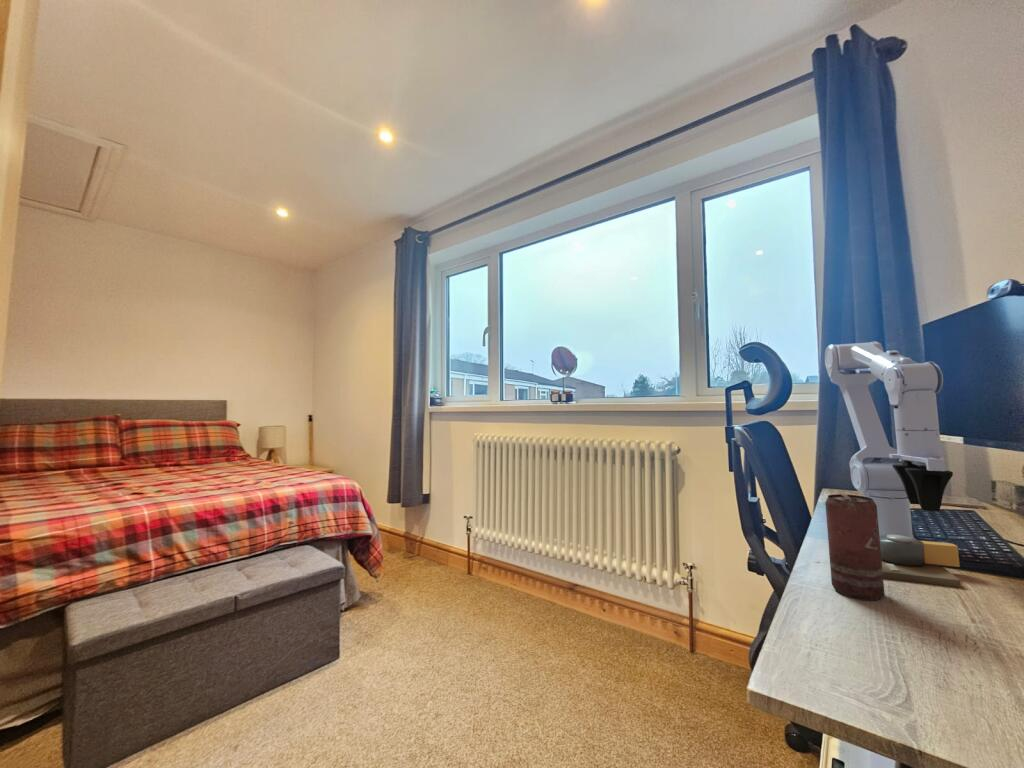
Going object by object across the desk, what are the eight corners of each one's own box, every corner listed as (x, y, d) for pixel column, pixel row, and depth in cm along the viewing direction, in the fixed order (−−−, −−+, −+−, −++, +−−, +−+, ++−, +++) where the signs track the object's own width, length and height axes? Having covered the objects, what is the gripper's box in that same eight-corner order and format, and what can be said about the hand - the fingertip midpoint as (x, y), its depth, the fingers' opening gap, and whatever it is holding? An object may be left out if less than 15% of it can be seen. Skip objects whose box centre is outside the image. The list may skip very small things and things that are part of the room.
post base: (854, 551, 81) (854, 544, 81) (924, 558, 76) (924, 551, 76) (875, 577, 68) (875, 569, 69) (961, 587, 64) (960, 579, 64)
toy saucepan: (883, 562, 71) (881, 540, 71) (873, 551, 76) (871, 530, 77) (965, 571, 66) (963, 547, 67) (949, 559, 72) (946, 536, 72)
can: (863, 583, 66) (855, 492, 67) (896, 601, 60) (887, 500, 61) (822, 583, 67) (815, 492, 68) (849, 601, 60) (841, 501, 61)
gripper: (876, 428, 84) (882, 497, 83) (901, 432, 71) (908, 514, 70) (923, 428, 81) (930, 500, 80) (958, 432, 68) (967, 518, 67)
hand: (924, 507), depth 75 cm, fingers open, 5 cm apart
